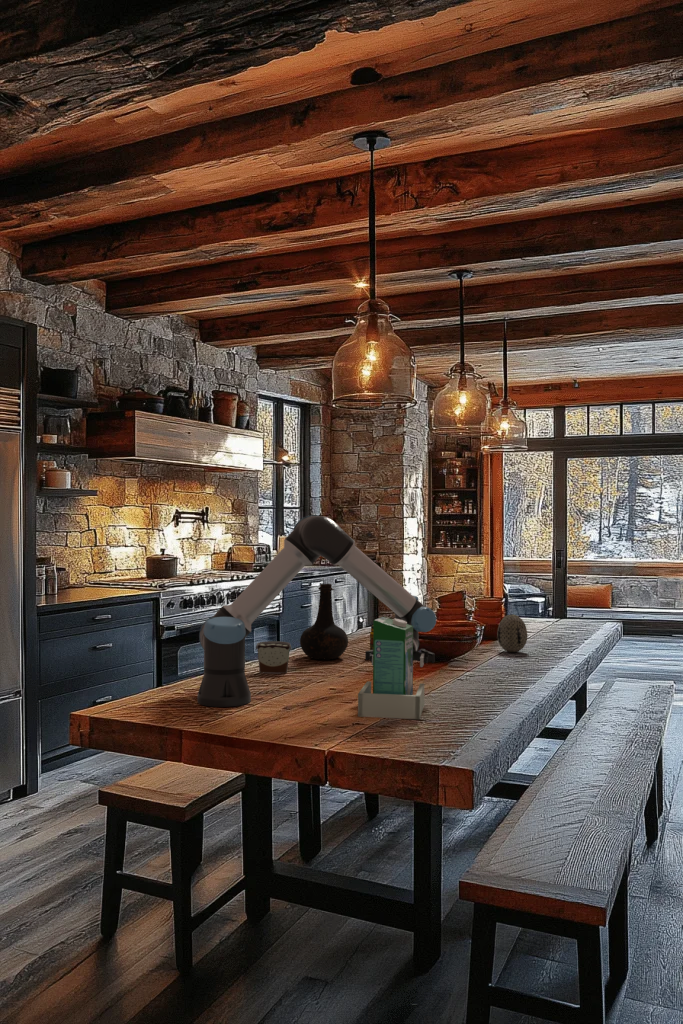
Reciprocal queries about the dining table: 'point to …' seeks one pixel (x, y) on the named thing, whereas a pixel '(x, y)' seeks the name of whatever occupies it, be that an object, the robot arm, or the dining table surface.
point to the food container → (273, 656)
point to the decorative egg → (512, 633)
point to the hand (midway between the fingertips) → (397, 661)
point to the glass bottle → (324, 631)
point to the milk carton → (392, 657)
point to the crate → (390, 704)
